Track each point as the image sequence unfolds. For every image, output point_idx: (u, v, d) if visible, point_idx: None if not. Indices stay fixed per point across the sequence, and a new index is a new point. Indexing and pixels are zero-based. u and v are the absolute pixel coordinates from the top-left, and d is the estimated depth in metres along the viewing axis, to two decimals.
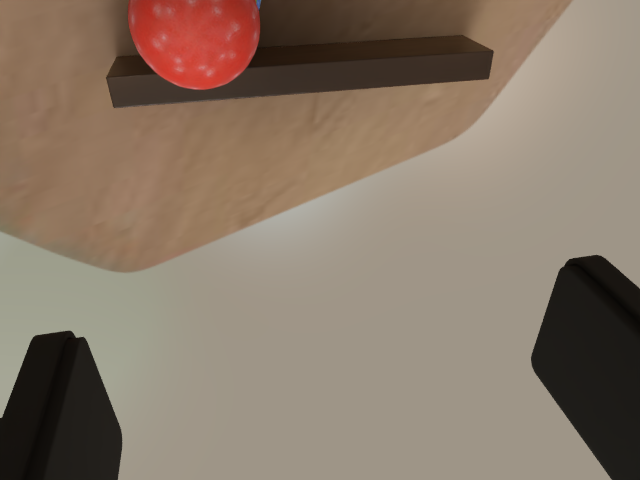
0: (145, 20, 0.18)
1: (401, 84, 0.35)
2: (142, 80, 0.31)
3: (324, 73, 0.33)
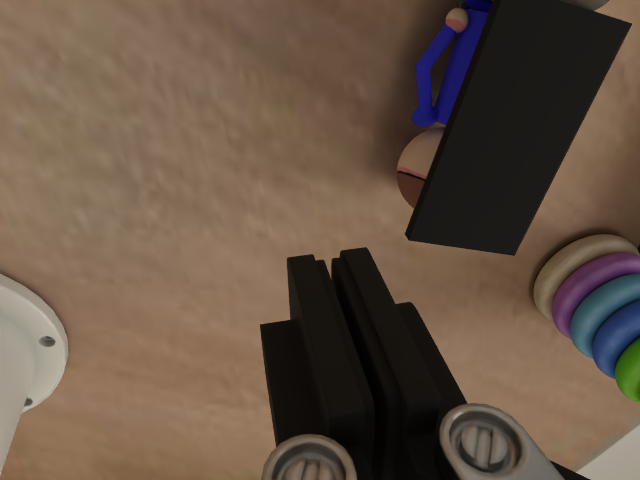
0: None
1: None
2: None
3: None
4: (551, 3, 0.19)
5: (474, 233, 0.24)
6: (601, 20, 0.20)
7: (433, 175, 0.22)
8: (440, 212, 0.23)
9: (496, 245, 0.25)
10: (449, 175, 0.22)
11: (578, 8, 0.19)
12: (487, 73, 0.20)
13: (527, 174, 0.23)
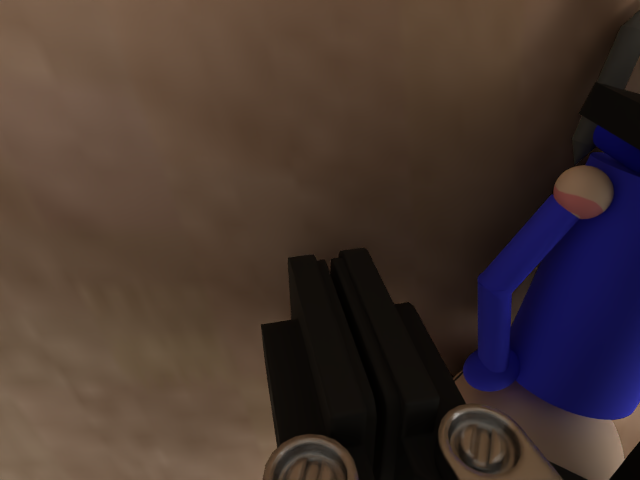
0: None
1: None
2: None
3: None
4: None
5: None
6: None
7: None
8: None
9: None
10: None
11: None
12: None
13: None
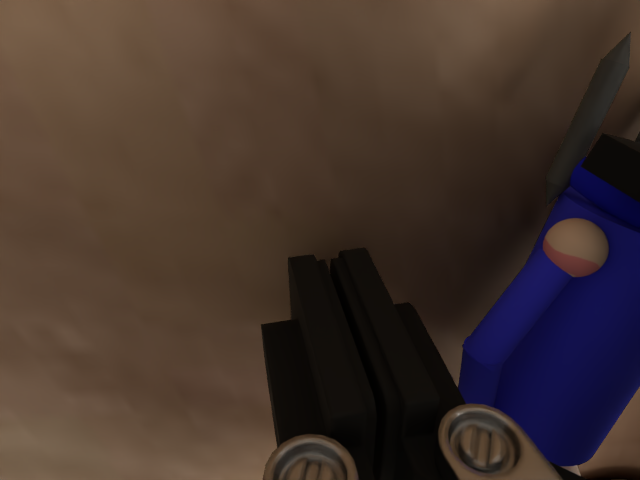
0: None
1: None
2: None
3: None
4: None
5: None
6: None
7: None
8: None
9: None
10: None
11: None
12: None
13: None
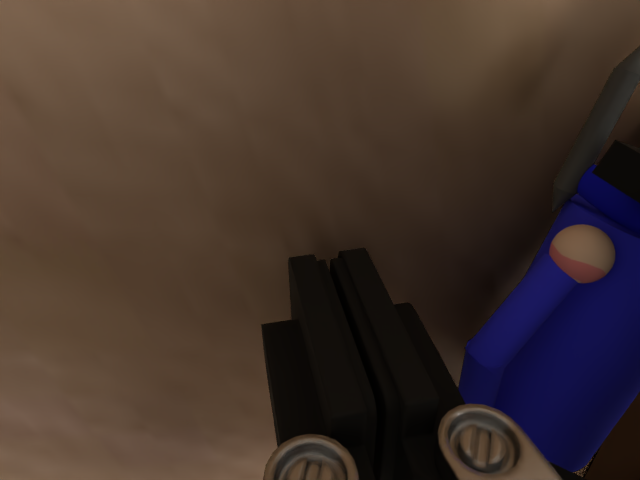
0: None
1: None
2: None
3: None
4: None
5: None
6: None
7: None
8: None
9: None
10: None
11: None
12: None
13: None
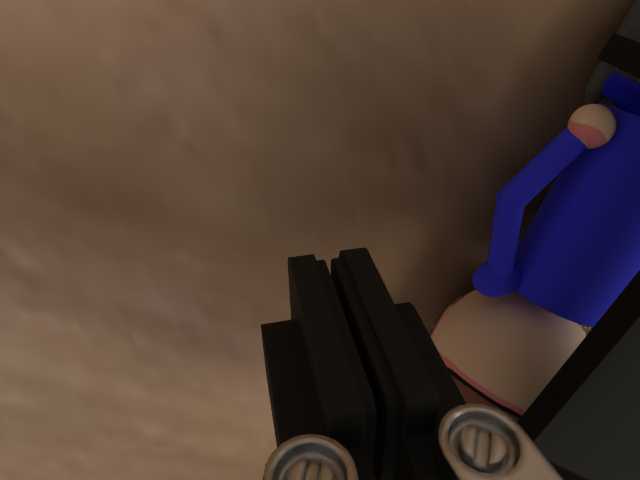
0: None
1: None
2: None
3: None
4: None
5: None
6: None
7: None
8: None
9: None
10: (557, 449, 0.11)
11: None
12: None
13: None
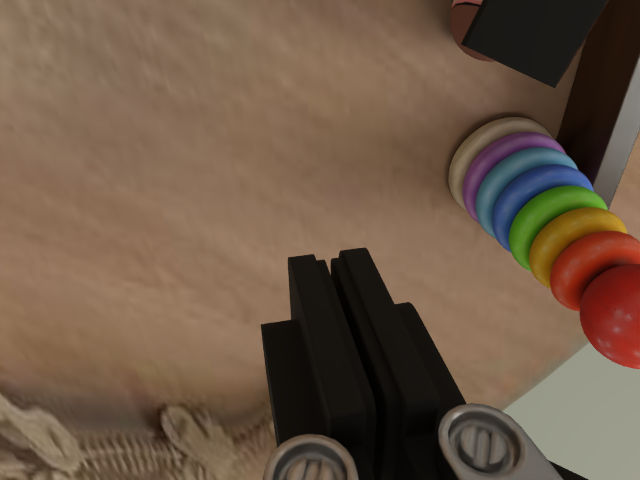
0: None
1: None
2: None
3: (639, 83, 0.30)
4: None
5: (524, 53, 0.26)
6: None
7: None
8: (499, 21, 0.25)
9: (541, 72, 0.26)
10: None
11: None
12: None
13: None
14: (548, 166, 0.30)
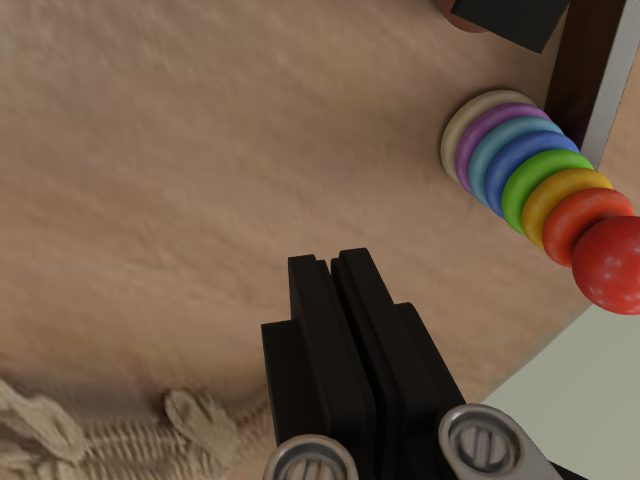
0: (631, 314, 0.25)
1: None
2: None
3: (620, 51, 0.31)
4: None
5: (510, 20, 0.27)
6: None
7: None
8: None
9: (527, 38, 0.27)
10: None
11: None
12: None
13: None
14: (536, 132, 0.31)
